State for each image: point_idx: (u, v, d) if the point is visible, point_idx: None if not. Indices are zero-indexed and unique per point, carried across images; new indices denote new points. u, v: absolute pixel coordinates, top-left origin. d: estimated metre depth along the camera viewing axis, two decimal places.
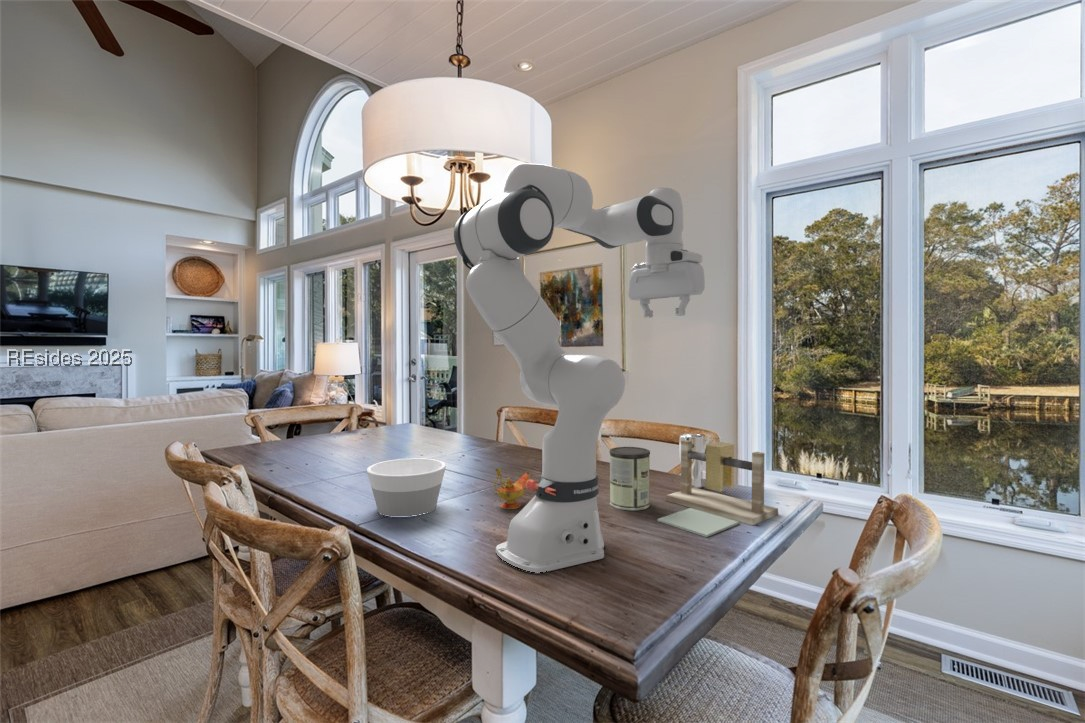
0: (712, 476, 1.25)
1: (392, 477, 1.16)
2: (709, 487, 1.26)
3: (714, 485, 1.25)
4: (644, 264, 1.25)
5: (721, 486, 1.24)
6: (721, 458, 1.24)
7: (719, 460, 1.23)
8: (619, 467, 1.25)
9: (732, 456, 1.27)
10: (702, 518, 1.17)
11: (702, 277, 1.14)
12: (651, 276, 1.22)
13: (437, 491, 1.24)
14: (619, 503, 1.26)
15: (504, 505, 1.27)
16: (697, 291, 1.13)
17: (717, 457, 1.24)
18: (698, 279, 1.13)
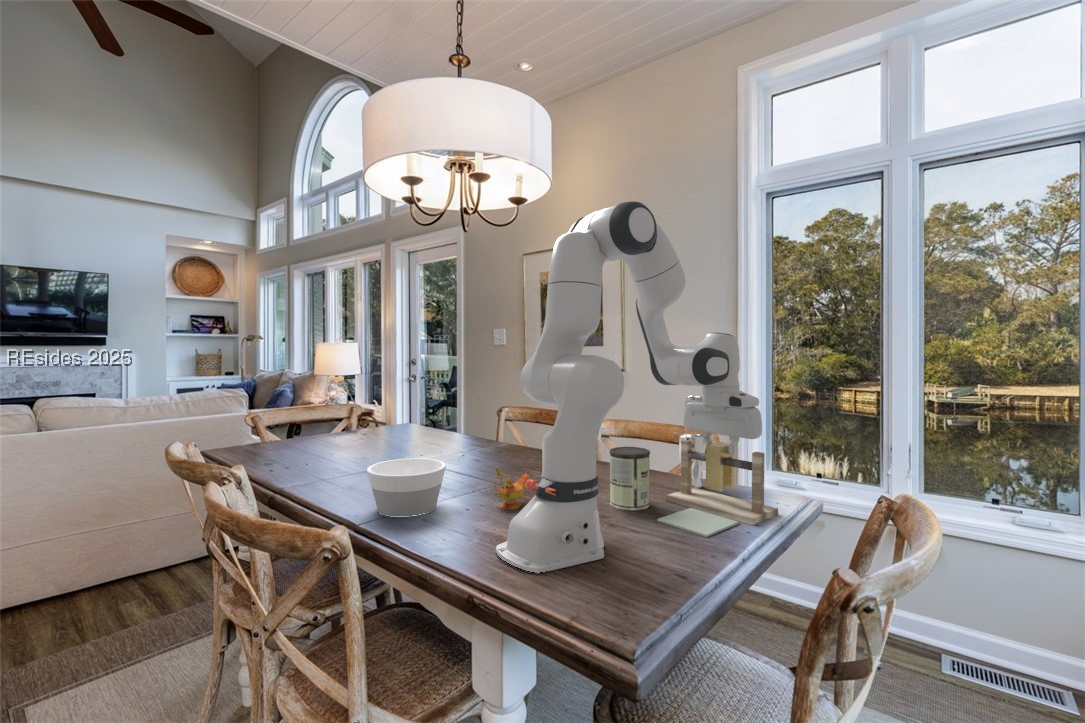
0: (712, 476, 1.25)
1: (392, 477, 1.16)
2: (709, 487, 1.26)
3: (714, 485, 1.25)
4: (700, 398, 1.30)
5: (721, 486, 1.24)
6: (721, 458, 1.24)
7: (719, 460, 1.23)
8: (619, 467, 1.25)
9: (732, 456, 1.27)
10: (702, 518, 1.17)
11: (760, 422, 1.20)
12: (707, 412, 1.28)
13: (437, 491, 1.24)
14: (619, 503, 1.26)
15: (504, 505, 1.27)
16: (755, 437, 1.19)
17: (717, 457, 1.24)
18: (757, 425, 1.19)
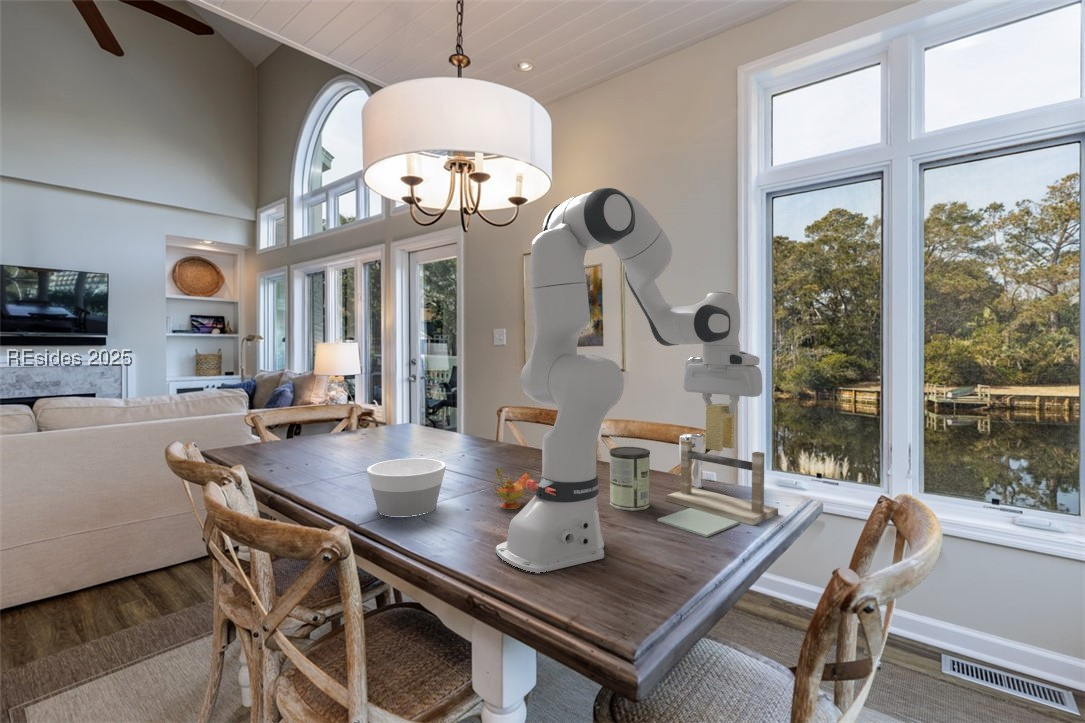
0: (712, 436, 1.25)
1: (392, 477, 1.16)
2: (709, 447, 1.25)
3: (714, 445, 1.24)
4: (700, 359, 1.30)
5: (721, 445, 1.24)
6: (721, 417, 1.23)
7: (719, 419, 1.23)
8: (619, 467, 1.25)
9: (732, 417, 1.26)
10: (702, 518, 1.17)
11: (760, 380, 1.19)
12: (708, 373, 1.27)
13: (437, 491, 1.24)
14: (619, 503, 1.26)
15: (504, 505, 1.27)
16: (756, 395, 1.18)
17: (717, 416, 1.24)
18: (757, 383, 1.18)
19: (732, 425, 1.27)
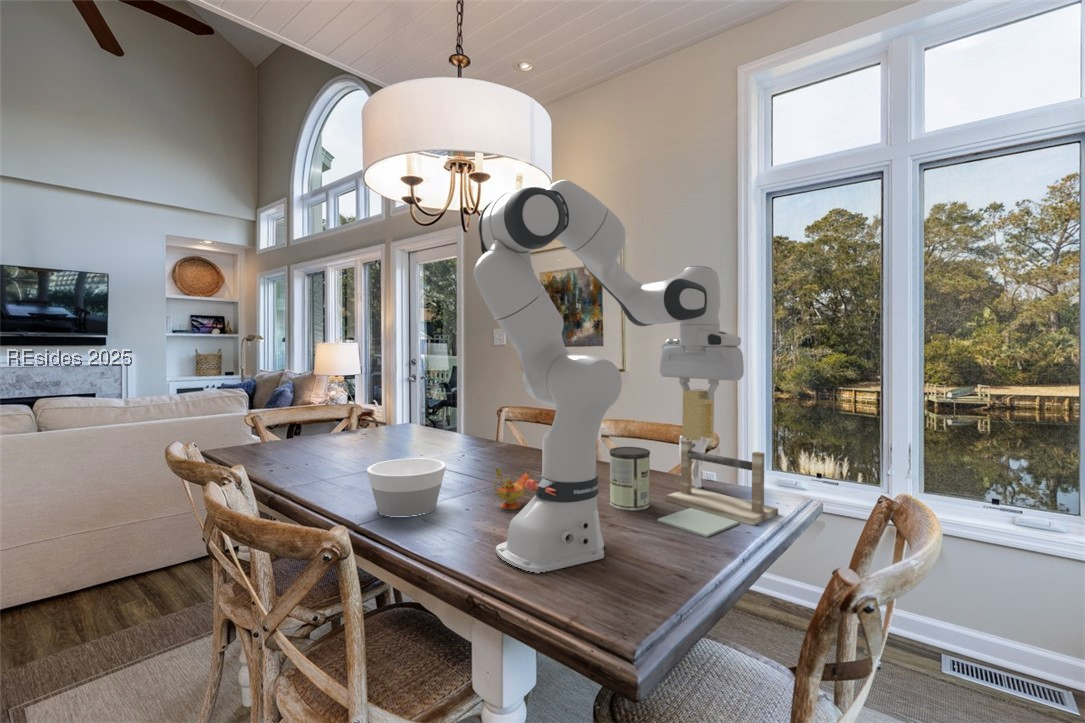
0: (689, 424, 1.14)
1: (392, 477, 1.16)
2: (686, 436, 1.14)
3: (691, 434, 1.13)
4: (677, 341, 1.19)
5: (699, 434, 1.12)
6: (699, 403, 1.12)
7: (696, 405, 1.12)
8: (619, 467, 1.25)
9: (711, 403, 1.15)
10: (702, 518, 1.17)
11: (741, 362, 1.08)
12: (685, 355, 1.16)
13: (437, 491, 1.24)
14: (619, 503, 1.26)
15: (504, 505, 1.27)
16: (736, 378, 1.07)
17: (695, 402, 1.12)
18: (738, 365, 1.07)
19: (711, 412, 1.15)
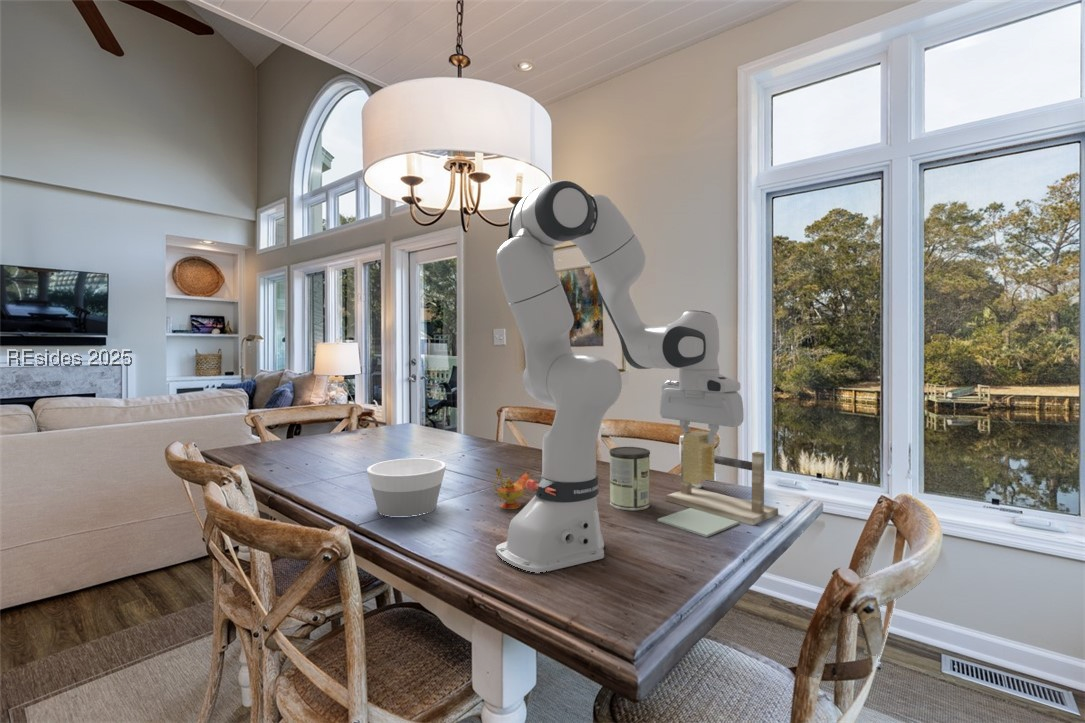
0: (690, 468, 1.14)
1: (392, 477, 1.16)
2: (687, 480, 1.15)
3: (692, 478, 1.13)
4: (677, 383, 1.19)
5: (700, 479, 1.13)
6: (699, 448, 1.12)
7: (697, 450, 1.12)
8: (619, 467, 1.25)
9: (712, 446, 1.16)
10: (702, 518, 1.17)
11: (741, 408, 1.08)
12: (685, 398, 1.16)
13: (437, 491, 1.24)
14: (619, 503, 1.26)
15: (504, 505, 1.27)
16: (736, 425, 1.07)
17: (695, 447, 1.13)
18: (737, 412, 1.07)
19: (712, 455, 1.16)
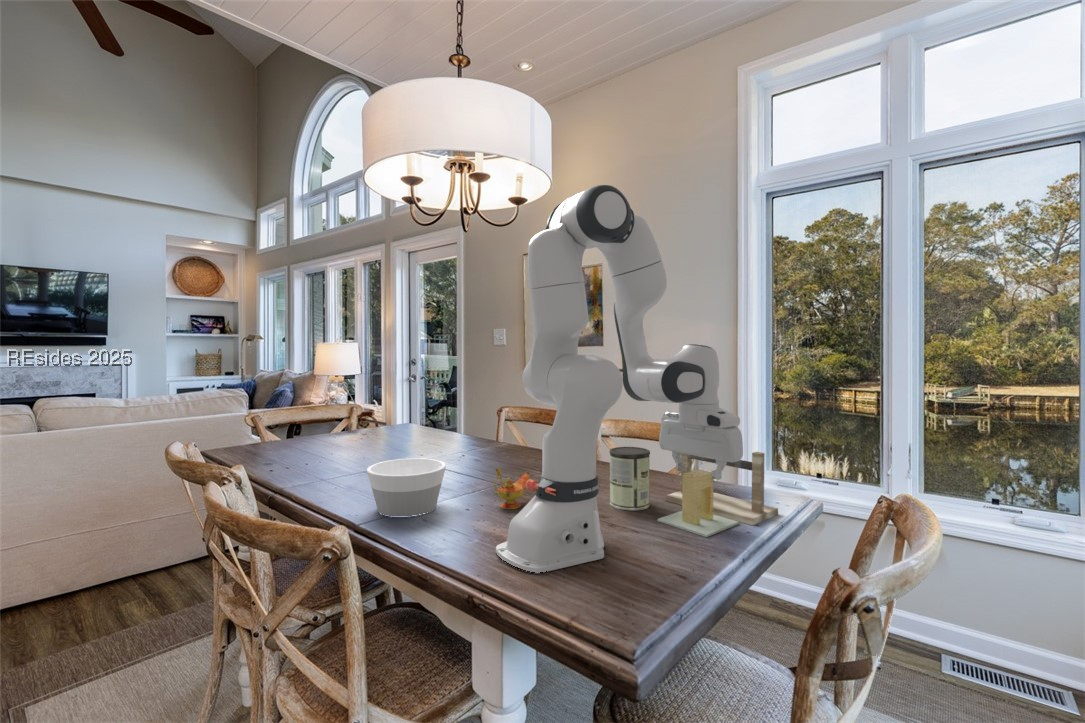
0: (689, 508, 1.14)
1: (392, 477, 1.16)
2: (686, 520, 1.15)
3: (691, 518, 1.14)
4: (676, 415, 1.19)
5: (698, 519, 1.13)
6: (698, 489, 1.13)
7: (696, 491, 1.12)
8: (619, 467, 1.25)
9: (711, 486, 1.16)
10: (702, 518, 1.17)
11: (740, 444, 1.09)
12: (684, 431, 1.17)
13: (437, 491, 1.24)
14: (619, 503, 1.26)
15: (504, 505, 1.27)
16: (735, 460, 1.08)
17: (694, 487, 1.13)
18: (737, 447, 1.07)
19: (711, 495, 1.16)
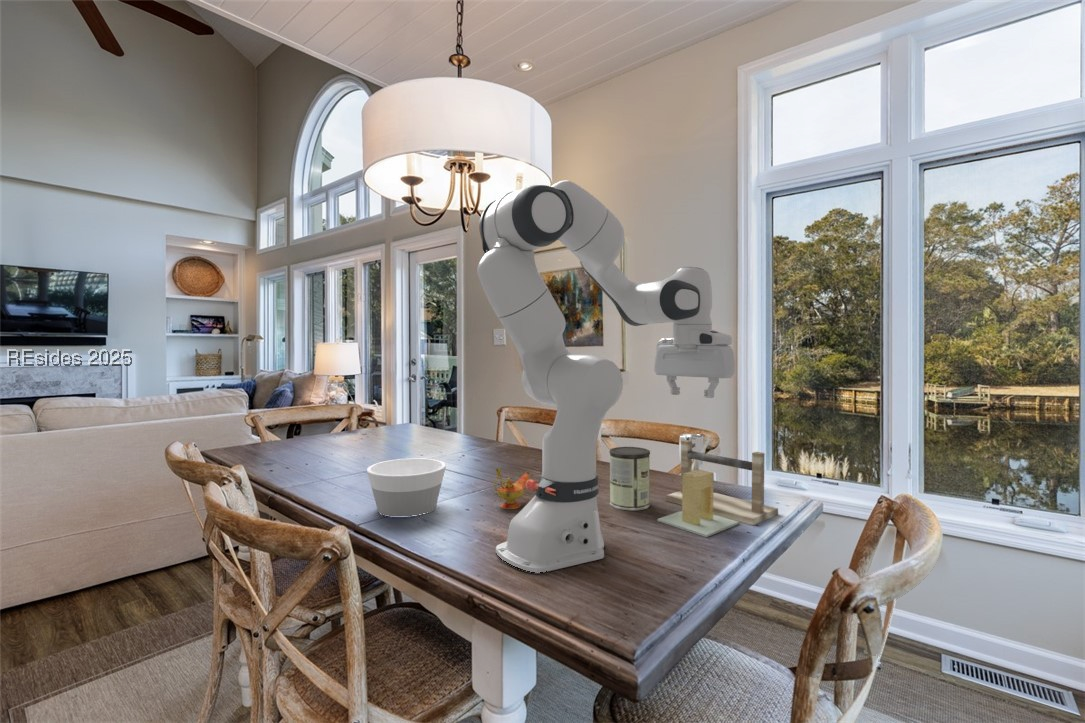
0: (689, 508, 1.14)
1: (392, 477, 1.16)
2: (686, 520, 1.15)
3: (691, 518, 1.14)
4: (671, 340, 1.22)
5: (698, 519, 1.13)
6: (698, 489, 1.13)
7: (696, 491, 1.12)
8: (619, 467, 1.25)
9: (711, 486, 1.16)
10: (702, 518, 1.17)
11: (732, 361, 1.11)
12: (678, 354, 1.19)
13: (437, 491, 1.24)
14: (619, 503, 1.26)
15: (504, 505, 1.27)
16: (727, 376, 1.10)
17: (694, 487, 1.13)
18: (728, 364, 1.10)
19: (711, 495, 1.16)
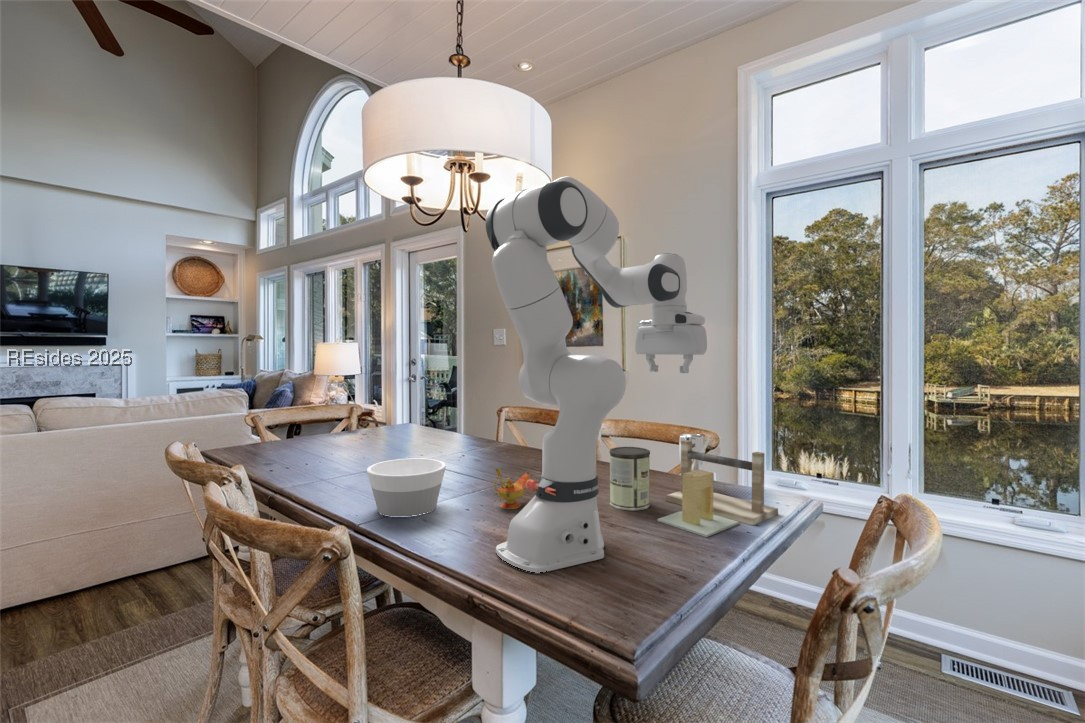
0: (689, 508, 1.14)
1: (392, 477, 1.16)
2: (686, 520, 1.15)
3: (691, 518, 1.14)
4: (650, 322, 1.33)
5: (698, 519, 1.13)
6: (698, 489, 1.13)
7: (696, 491, 1.12)
8: (619, 467, 1.25)
9: (711, 486, 1.16)
10: (702, 518, 1.17)
11: (705, 339, 1.22)
12: (656, 334, 1.30)
13: (437, 491, 1.24)
14: (619, 503, 1.26)
15: (504, 505, 1.27)
16: (700, 353, 1.21)
17: (694, 487, 1.13)
18: (701, 341, 1.21)
19: (711, 495, 1.16)
